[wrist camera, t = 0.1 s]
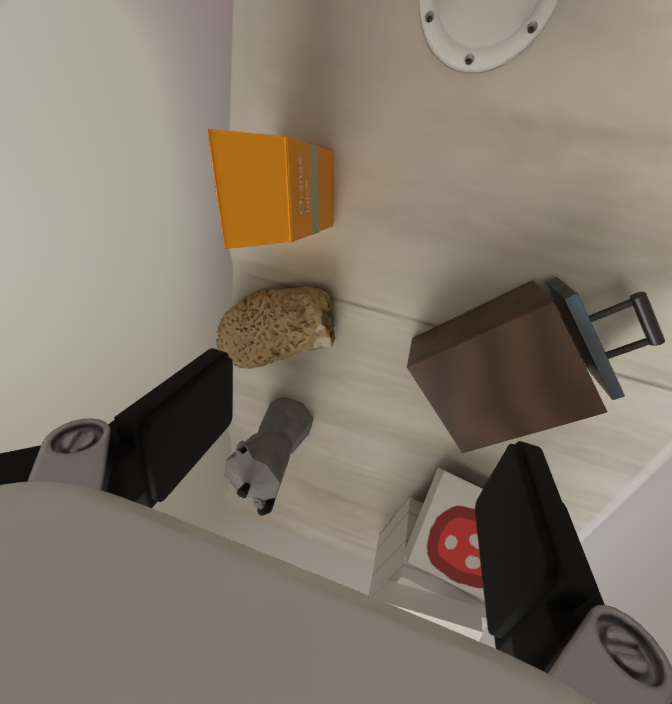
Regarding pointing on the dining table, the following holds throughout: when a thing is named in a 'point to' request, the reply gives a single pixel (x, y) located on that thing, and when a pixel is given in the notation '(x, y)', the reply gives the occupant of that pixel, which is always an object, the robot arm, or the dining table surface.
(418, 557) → the pizza boxes
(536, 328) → the cabinet
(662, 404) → the dining table surface
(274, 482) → the coffeepot
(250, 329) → the sponge
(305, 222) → the orange juice
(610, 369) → the drawer
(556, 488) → the robot arm
